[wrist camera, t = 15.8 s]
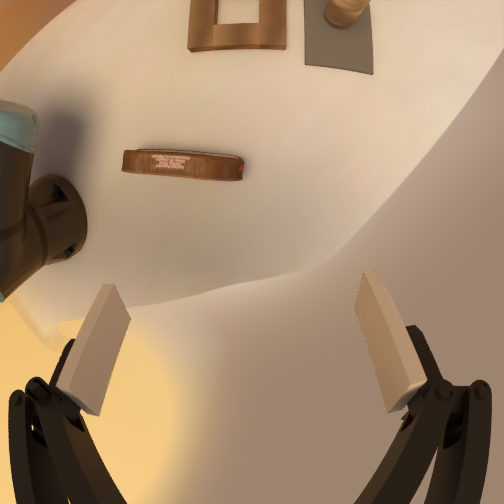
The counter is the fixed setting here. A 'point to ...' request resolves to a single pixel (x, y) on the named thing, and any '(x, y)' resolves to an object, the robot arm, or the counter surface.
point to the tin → (183, 164)
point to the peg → (343, 12)
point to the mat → (337, 40)
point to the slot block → (236, 28)
